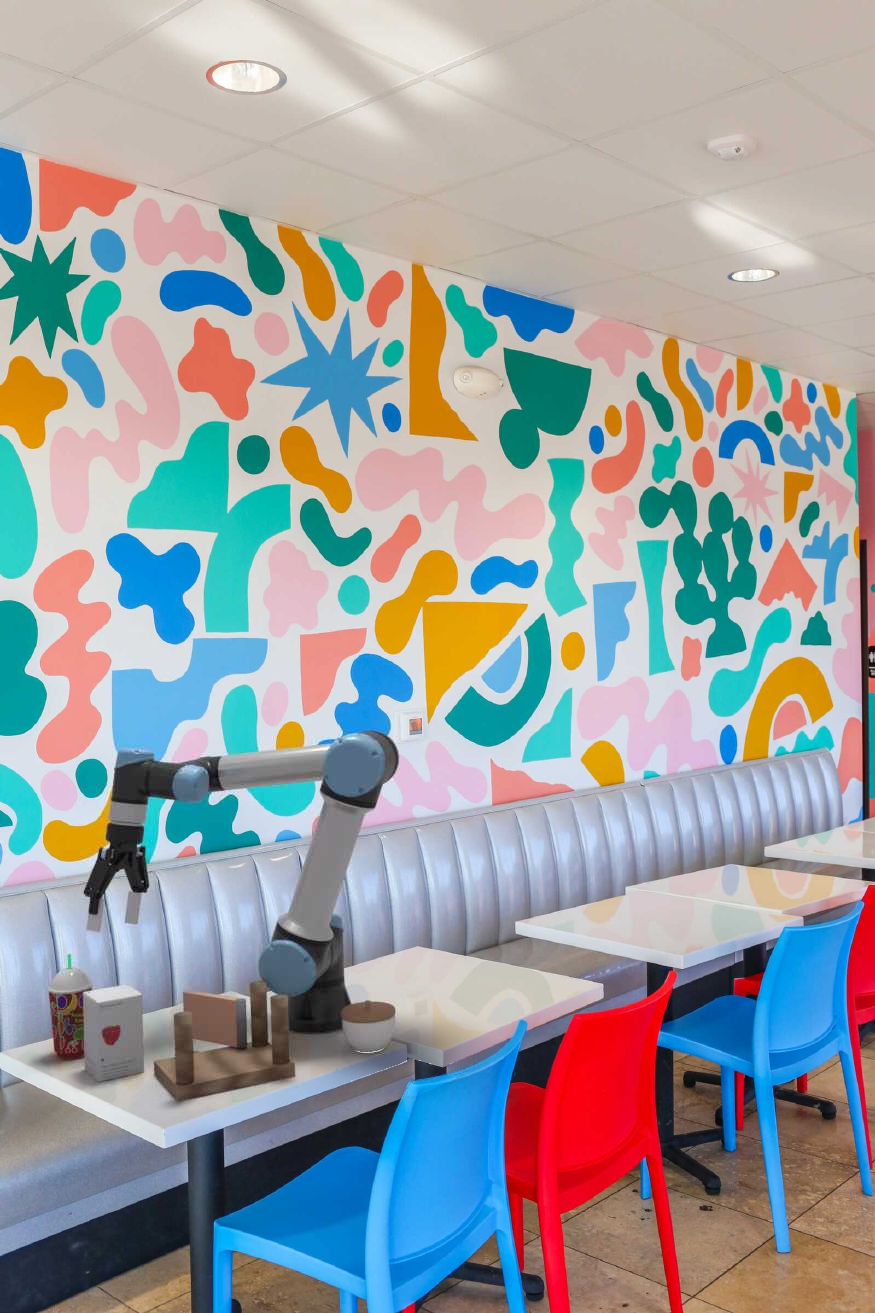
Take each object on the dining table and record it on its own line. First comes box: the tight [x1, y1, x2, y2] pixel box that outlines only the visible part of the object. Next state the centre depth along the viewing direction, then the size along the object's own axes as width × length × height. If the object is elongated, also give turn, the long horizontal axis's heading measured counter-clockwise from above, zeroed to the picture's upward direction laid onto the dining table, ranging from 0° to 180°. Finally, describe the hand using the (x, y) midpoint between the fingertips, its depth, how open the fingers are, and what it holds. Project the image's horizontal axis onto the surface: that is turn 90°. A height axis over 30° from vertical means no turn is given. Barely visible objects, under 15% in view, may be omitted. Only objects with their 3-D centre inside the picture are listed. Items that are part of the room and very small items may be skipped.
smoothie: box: [47, 953, 93, 1060], centre depth 231 cm, size 8×8×20 cm
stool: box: [153, 980, 296, 1102], centre depth 217 cm, size 22×16×14 cm
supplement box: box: [83, 984, 145, 1083], centre depth 221 cm, size 9×9×15 cm
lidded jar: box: [341, 999, 396, 1052], centre depth 230 cm, size 11×11×9 cm
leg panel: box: [182, 989, 248, 1048], centre depth 228 cm, size 15×2×9 cm, turn 59°
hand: (112, 927), depth 239 cm, fingers open, 13 cm apart
